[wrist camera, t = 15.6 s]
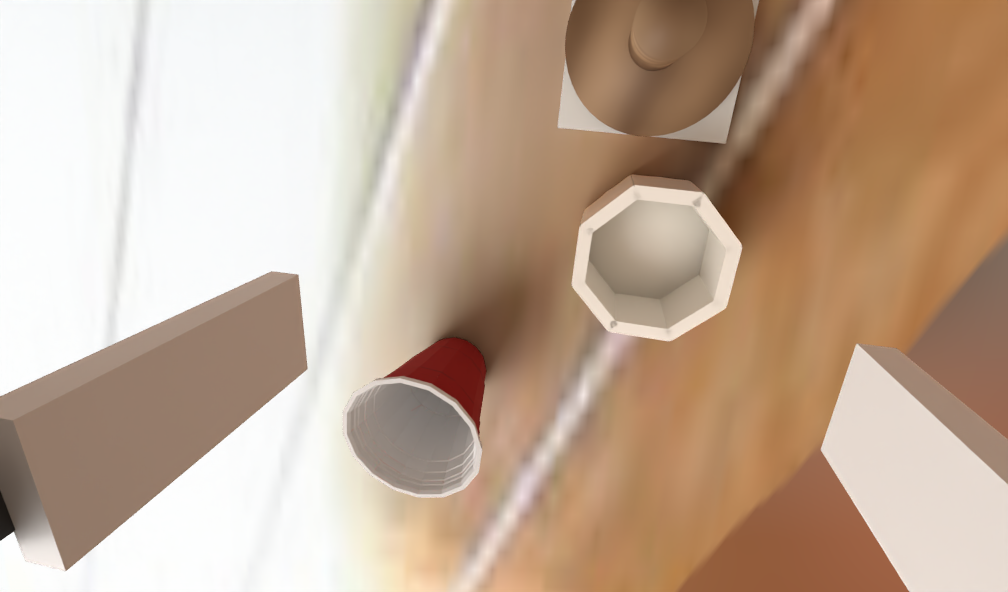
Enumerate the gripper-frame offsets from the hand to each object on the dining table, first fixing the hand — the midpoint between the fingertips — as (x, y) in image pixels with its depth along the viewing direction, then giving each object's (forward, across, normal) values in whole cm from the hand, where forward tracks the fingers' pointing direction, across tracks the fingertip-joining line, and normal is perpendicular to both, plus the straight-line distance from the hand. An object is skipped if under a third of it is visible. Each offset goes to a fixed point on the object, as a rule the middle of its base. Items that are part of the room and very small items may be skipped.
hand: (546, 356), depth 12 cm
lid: (+28, +3, +10) cm, 30 cm away
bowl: (+29, +5, -4) cm, 30 cm away
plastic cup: (+29, -11, -17) cm, 36 cm away
